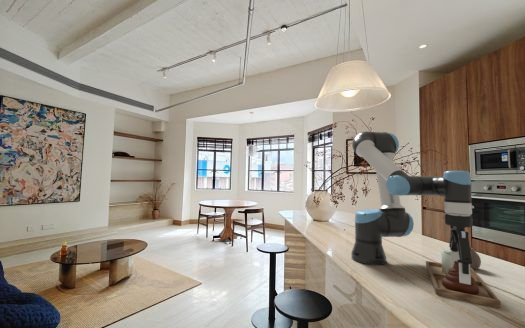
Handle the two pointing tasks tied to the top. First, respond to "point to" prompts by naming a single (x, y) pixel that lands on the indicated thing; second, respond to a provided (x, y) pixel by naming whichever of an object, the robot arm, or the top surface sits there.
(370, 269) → the top surface
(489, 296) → the divided wooden tray
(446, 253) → the jar
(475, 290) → the poop emoji
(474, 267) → the vase
